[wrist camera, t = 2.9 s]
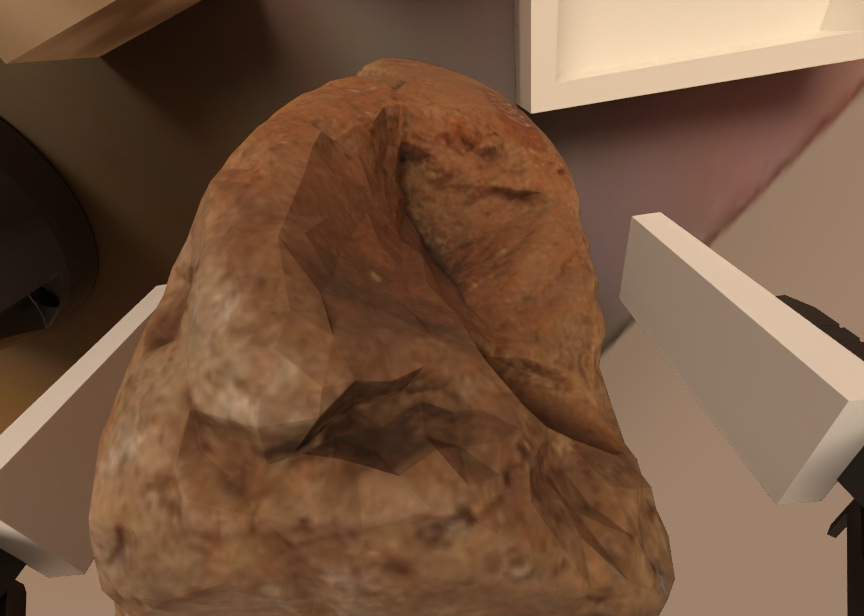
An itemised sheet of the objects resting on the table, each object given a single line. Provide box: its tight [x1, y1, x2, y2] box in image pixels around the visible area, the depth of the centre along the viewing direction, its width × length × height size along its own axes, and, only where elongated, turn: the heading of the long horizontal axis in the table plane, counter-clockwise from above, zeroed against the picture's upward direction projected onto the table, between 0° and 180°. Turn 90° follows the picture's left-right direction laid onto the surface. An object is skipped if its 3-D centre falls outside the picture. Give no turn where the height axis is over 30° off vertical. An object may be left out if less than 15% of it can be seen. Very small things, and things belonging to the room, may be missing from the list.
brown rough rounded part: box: [89, 58, 675, 616], centre depth 13 cm, size 11×8×20 cm
